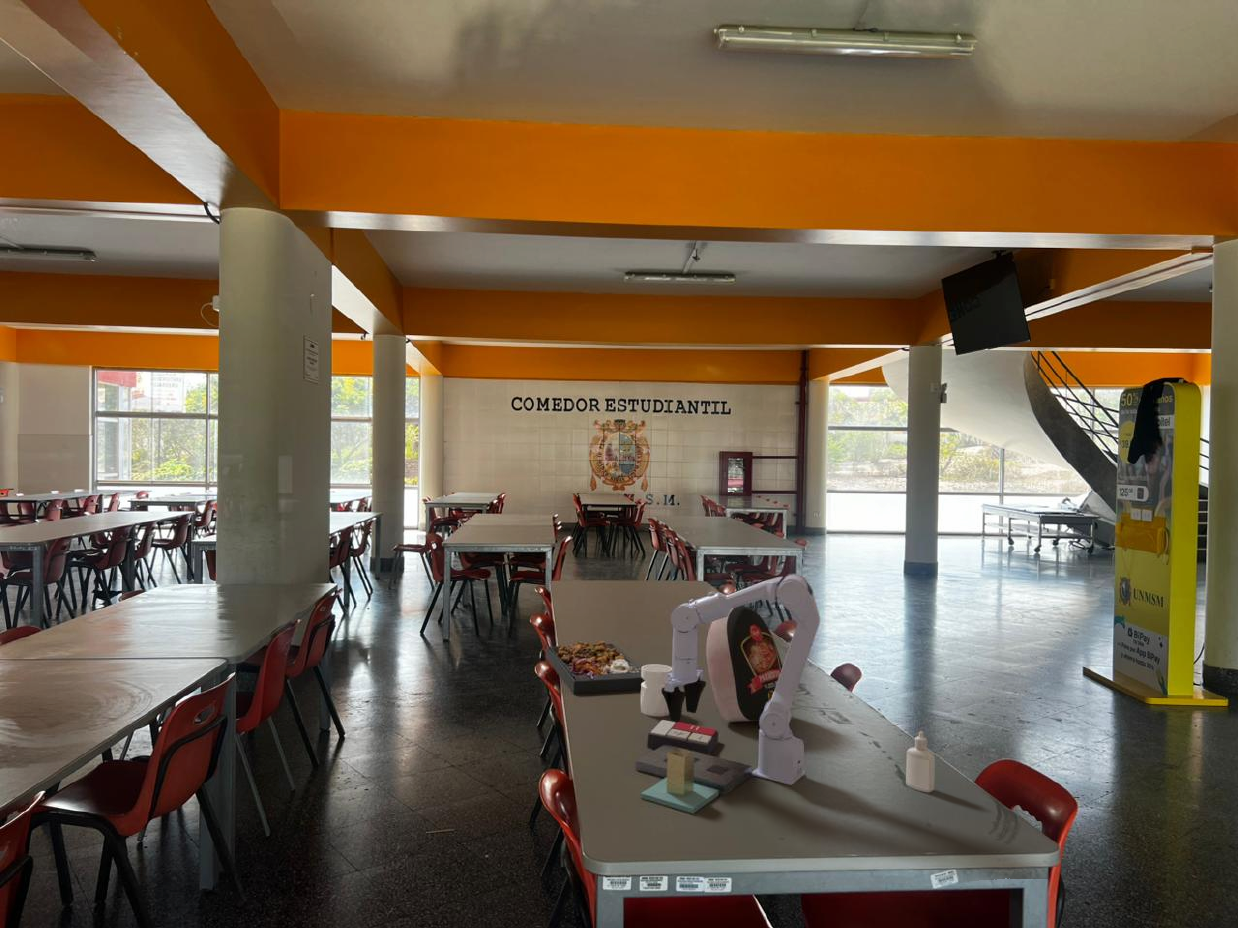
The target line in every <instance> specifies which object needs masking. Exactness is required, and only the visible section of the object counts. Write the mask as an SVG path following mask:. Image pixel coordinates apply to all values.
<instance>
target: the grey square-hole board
mask: <svg viewBox="0 0 1238 928" xmlns="http://www.w3.org/2000/svg"><path fill="white" fill-rule="evenodd" d="M676 748H678V747H674V746H670V745H666V744H665V745H663V746H661V747H660V748H658V749H653V751H651V752H648V753H647V754H645V755H644V756H642V757H640V758H638V759H636V760H635V770H636V771H639V772H643V773H646V774H649V775H653V776H657V777H660V778H663V779H665V778H666V777H667V757H668V753H669V752H670V751H672V750H674V749H676ZM681 749H682V748H681ZM685 750H686V749H685ZM689 751H690V750H689ZM693 752H694V751H693ZM752 768H753V766H752V765H750V764H745V763H742V762H737V761H733V760H729V759H726V758H722V757H717V756H713V755H711V754H710V755H706V754H702V753H698V752H694V783H695V784H698V785H702V786H706V787H709V788H713V789H716V790H719V794H721V795H727V794H728V793H730V792H731V791H732V790H733V789H734V788H736V787H737V786H739V785H740V784H741V783H743V782H745V780H747V779H748V778H750V777H751V776H752V775H751V773H752V772H753V771H752V770H753V769H752Z"/></svg>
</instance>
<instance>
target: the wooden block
mask: <svg viewBox="0 0 1238 928" xmlns="http://www.w3.org/2000/svg"><path fill="white" fill-rule="evenodd" d="M693 788H694V752H693V751H689V750H685V749H681V748H676V749H674V750H672V751H670V752H669V753H668V757H667V793H671V794H674V795H677V796H681V797H685V796H687V795H688V794H690V793H691V792H693Z"/></svg>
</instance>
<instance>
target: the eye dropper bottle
mask: <svg viewBox="0 0 1238 928" xmlns="http://www.w3.org/2000/svg"><path fill="white" fill-rule="evenodd" d="M905 763H906V765H905V767H906V769H905V784H906V785H907V787H909V788H911V789H913V790H916V791H919V792H922V793H931V792H933V791H935V790H934V789H935V770H936V769H935V765H936V764H935V763H936V761H935V755H934V754H933V752H931V751H930V750H928V739H927V738H926V737H924V732H923V731H921V730H920V731H919V732H918V736H915V737H914V747H910V748H909V749H907V751H906V761H905Z"/></svg>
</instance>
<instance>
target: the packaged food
mask: <svg viewBox="0 0 1238 928" xmlns="http://www.w3.org/2000/svg"><path fill="white" fill-rule="evenodd" d="M705 649H706V651H705V652H706V663H707V669H708V675H709V681H710V684H711V690H712V693H713V695H714V696H713V697H714V699H715V700H714V701H715V703H716V707H717V709H718V712H719V713H720V715H721V716H722V717H723V719H724V720H725V721H727V722H731V723H735V722H736V723H737V722H758V721H759V720H760V717H761V715H762V713H763V711H764V707H765V705H766V703H767V702H768V701H769V700H770V699H771V698H772V696H773V693H774V690H775V687H776V684H777V682H778V679H779V676H780V673H781V670H782V667H783V663H782V660H781V657H780V654H779V651H778V648H777V644H776V642H775V639H774V637H773V635H772V632H771V631H770V629H769V627H768V626H767V623H766V622H765V620H764V618H762V616H761V614H759V612H757V611H756V610H754V609H752V608H750V607H747V606H745V605H742V606H739V607H736V608H732V609H731V610H730V613H729V615H728V616H727V617H724V618H721V619H718V620H715V621H712V622H711V624H710V626H709V629H708V634H707V637H706V647H705Z"/></svg>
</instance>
